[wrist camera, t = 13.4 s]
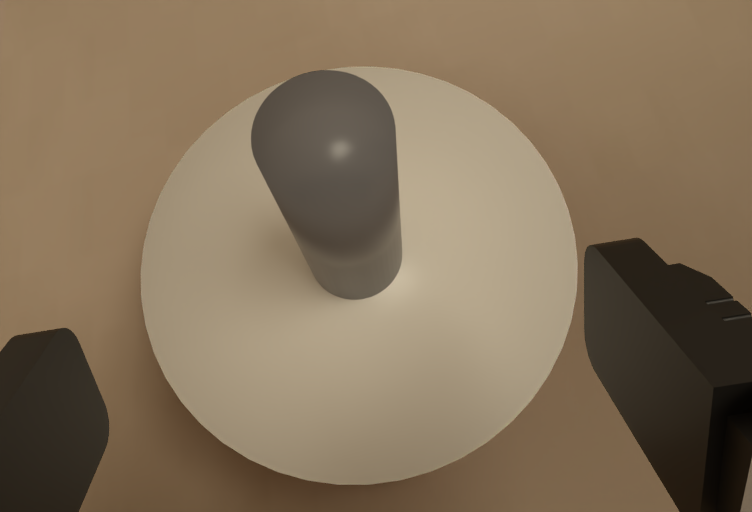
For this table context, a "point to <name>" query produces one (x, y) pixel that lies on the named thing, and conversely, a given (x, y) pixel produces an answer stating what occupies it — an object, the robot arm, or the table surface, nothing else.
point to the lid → (359, 275)
